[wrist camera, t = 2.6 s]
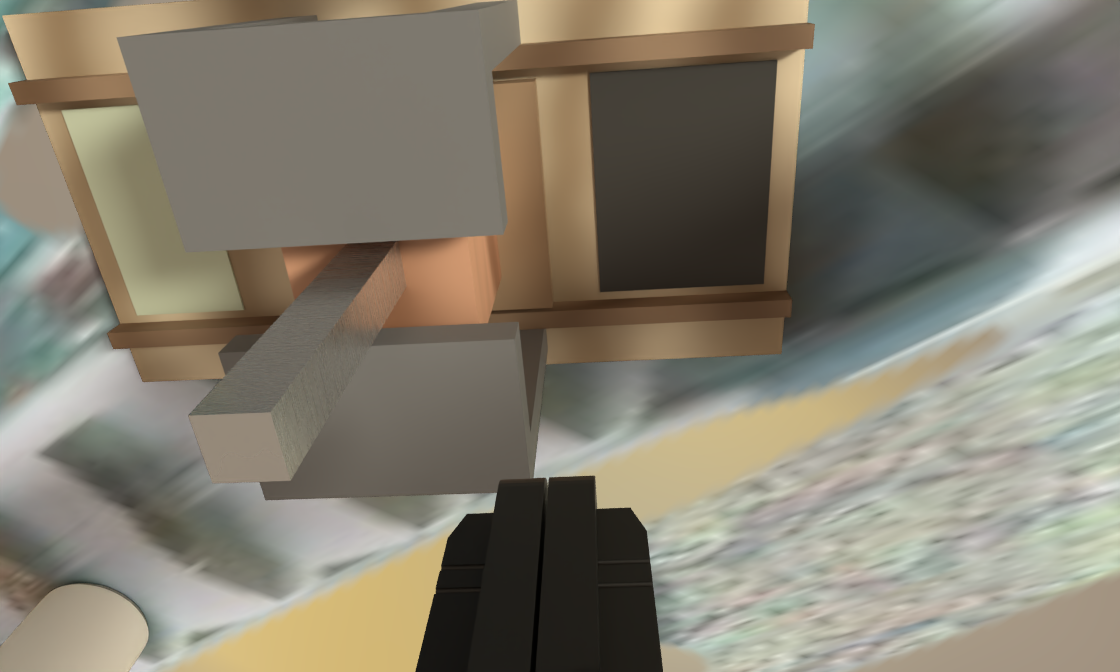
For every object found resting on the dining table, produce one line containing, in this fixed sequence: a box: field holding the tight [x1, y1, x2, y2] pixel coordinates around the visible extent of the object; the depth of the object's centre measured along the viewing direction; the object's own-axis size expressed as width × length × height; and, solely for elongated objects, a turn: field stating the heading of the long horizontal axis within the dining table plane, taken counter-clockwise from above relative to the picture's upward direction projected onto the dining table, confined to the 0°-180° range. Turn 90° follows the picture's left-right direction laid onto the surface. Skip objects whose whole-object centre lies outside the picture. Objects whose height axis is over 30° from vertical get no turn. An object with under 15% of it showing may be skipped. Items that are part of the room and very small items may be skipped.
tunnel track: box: [3, 0, 815, 500], centre depth 26 cm, size 30×16×12 cm, turn 94°
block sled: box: [188, 78, 554, 483], centre depth 21 cm, size 10×9×17 cm
